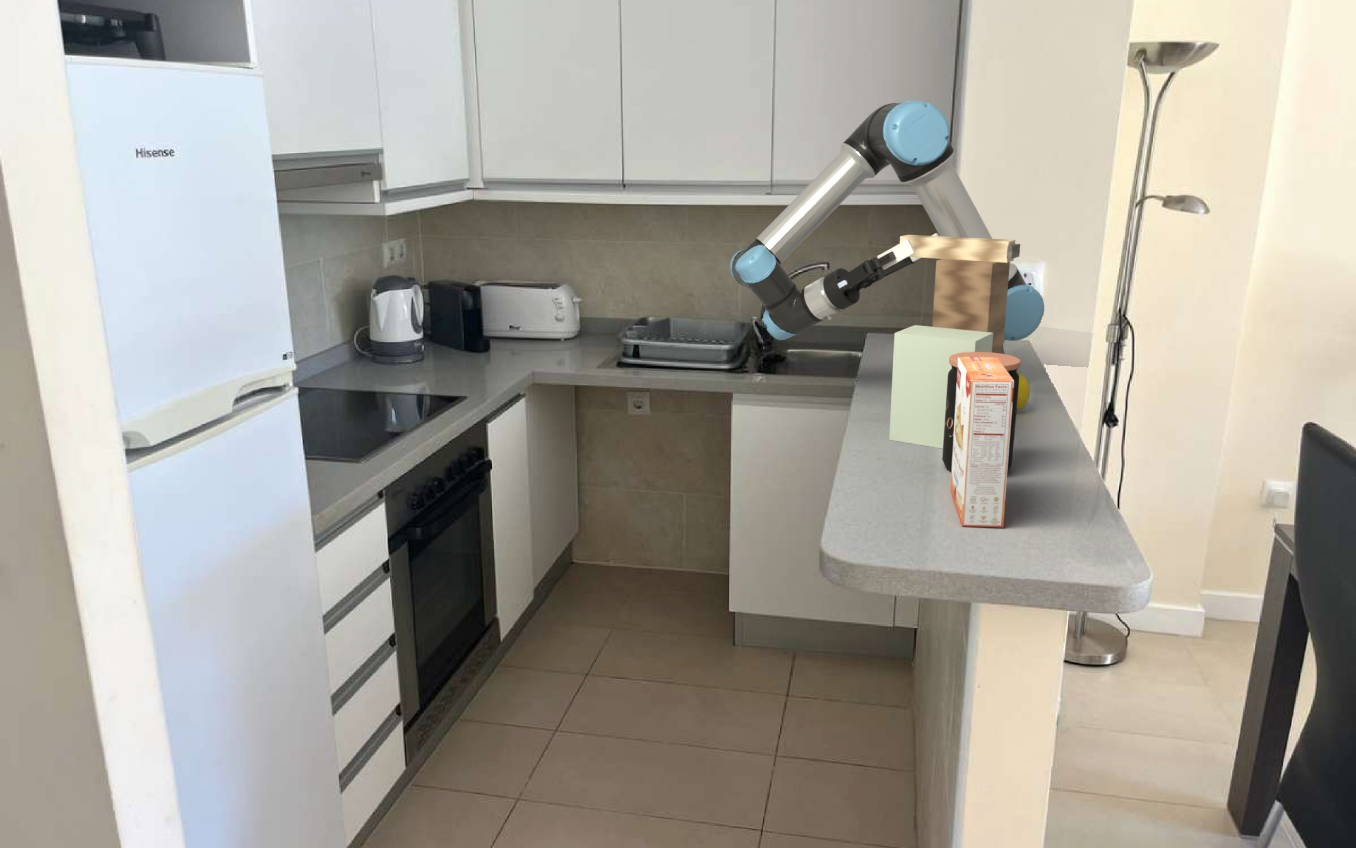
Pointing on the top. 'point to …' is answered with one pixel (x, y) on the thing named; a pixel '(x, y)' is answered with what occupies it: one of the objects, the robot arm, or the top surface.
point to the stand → (972, 297)
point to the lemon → (1023, 392)
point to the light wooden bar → (963, 248)
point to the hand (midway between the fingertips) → (926, 242)
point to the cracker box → (981, 441)
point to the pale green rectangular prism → (926, 380)
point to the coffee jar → (1006, 360)
